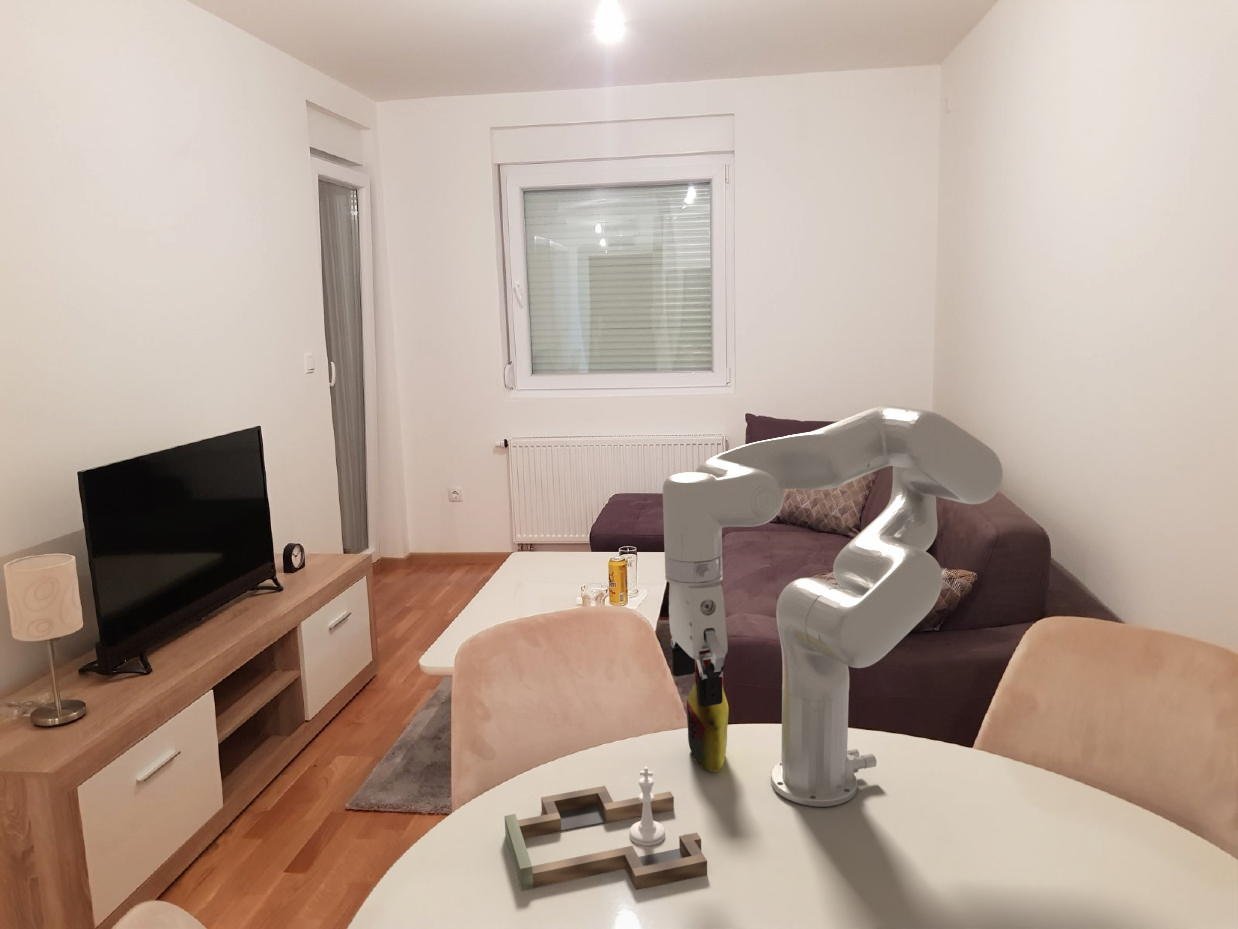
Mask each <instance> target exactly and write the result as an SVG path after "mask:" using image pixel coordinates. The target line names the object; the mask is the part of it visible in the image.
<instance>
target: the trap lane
mask: <svg viewBox="0 0 1238 929" xmlns="http://www.w3.org/2000/svg"><path fill="white" fill-rule="evenodd" d="M653 795H654V800H653V801H652V802H650V804H651V811H652V815H653V814H654V815H655V814H659V813H664V812H669V811H674V810H675V801H674V800H675V797H674V795H673V794H672V792H671V791H666V792H661V793H654V794H653ZM540 801H541V812H542V815H538V816H533V817H526V818H522V819H518V818H517V815H516V814H515V813H513V814H507V815H504V828H505V829H504V832H505V839H506V842H507V845H508V849H509V853H510V857H511V860H512V862H513V866H514V867H513V868H514V870H515V873H516V876H517V879H518V880H517V881H518V883H519V886H520V891H526V890H531V889H536V888H540V887H545V886H550V885H554V884H559V883H564V882H569V881H573V880H578V879H582V878H588V877H592V876H596V875H601V874H605V873H606V874H607V873H610V872H611V873H612V872H616V871H620V870H625V871H626V873H627V876H628V878H629V879H630V882H631V883H632V884H631V885H632V886H633V888H634V889H635V891H640V890H645V889H648V888H654V887H659V886H662V885H668V884H672V883H676V882H680V881H681V882H682V881H685V880H691V879H695V878H700V877H705V876H707V875H708V860H707V858H706V857H705V855H704V854H703V852H702V838H701V836H700V835H699V833H698V832H693V833H688V834H683V835H679V837H678V840H679V841H678V842H679V843H678V844H679V847H678V848H675V849H670V850H665V851H659V852H655V853H650V854H647V855H640V856H639V855H638V854H637V851H636V850H635V848H634V846H633V845H630V846H629V845H628V846H624V847H619V848H614V849H609V850H604V851H599V852H595V853H591V854H586V855H585V854H584V855H580V856H575V857H570V858H565V859H561V860H556V861H550V862H545V863H542V864H541V863H540V864H536V865H535V864H534V865H532V861H531V859H530V855H529V851H528V848H527V845H526V842H525V840H526V839H529V838H535V837H540V836H546V835H551V834H555V833H562V832H565V831H571V830H576V829H581V828H582V829H583V828H587V827H592V826H597V825H602V824H608V823H612V822H619V821H623V820H627V819H631V818H633V819H634V818H638V817H642V809H643V802H641V801H640V800H639V796H638V797H633V798H628V799H623V800H622V799H621V800H618V801H617V800H616V801H614V800H613V798H612V796H611V795H610V792H609V791H608V789H607V787H606V785H602V786H597V787H592V788H585V789H579V790H575V791H573V790H572V791H569V792H564V793H558V794H552V795H547V796H542V797H541V798H540ZM524 839H525V840H524Z"/></svg>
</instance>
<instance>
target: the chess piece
mask: <svg viewBox="0 0 1238 929" xmlns="http://www.w3.org/2000/svg"><path fill="white" fill-rule="evenodd" d="M639 776H644V777H641V778H639V780H638V785H639V786H640V789H641V793H639V795H638V797H639V800H640V801H641V802H643V809H642V816H641V819H640V821H636V822H635V823H633V824H631V827H630V829H629V834H628V836H629V839H630V840H631V841H632V843H633V842H634V844H637V845H639V846H643V847H644V846H646V847H647V846H648V847H649V846H655V845H658V844H660V843H661V842H663V841H664V840H665V838H666V832H665V827H664V826H663V824H661V823H660V822H658V821H655V820H654V819H653V818H654V817H653V814H652V811H651V804H650V802H652V801H653V800H654V794H653V793H652V790H653V789H652V788H653V787H654V783H655V781H654V779H653V778H652V777H653V771H649V767H648V766H644V768H643V770H639Z"/></svg>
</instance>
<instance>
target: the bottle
mask: <svg viewBox="0 0 1238 929" xmlns="http://www.w3.org/2000/svg"><path fill="white" fill-rule="evenodd" d="M708 652H710V651H709V650H704V651H700V654H702V653H708ZM703 661H704V665H705V668H706V667H707V665H708V664H709V663H711V659H707V660H703ZM694 674H695V677H694V684H693V685H692V688H691V690H690V691H689V693H688V696H687V698H686V722H687V740H688V746H689V750H690V752H691V754H692V757H693V759H694V761H695V762H696V763H697V765H698V766H700V767H701V768H702V769H703V770H706V771H708V772H719V771H721V769H722V768H723V765H724V763H725V759H726V752H727V744H728V742H727V741H728V726H729V724H728V722H729V704H728V700H727V696H726V693H725V691H724V690H725V689H724V675H723V676H722V703H721V704H716V705H711V706H705V707H700V706H699V704H698V682H697V677H700V673H699V669H698V665H697V661H696V660H695V673H694Z"/></svg>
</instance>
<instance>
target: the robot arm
mask: <svg viewBox="0 0 1238 929" xmlns="http://www.w3.org/2000/svg"><path fill="white" fill-rule="evenodd" d="M886 467H892V488H891V494H890V498H889V501H888V503H887V505H886V507H885V508H884V510H882V512H880V513H879V515H877V517H876V518H875V519H873V520H872V521H871V523H869V524H868V525H867V526H866V527H865V528H864V529H862V530H861V531H860V532H859V533H858V534H857V535H856V536H855V537H854V538H852V539H851V540H850V541H849V542H848V543H847V544H846V545H845V546H844V547H843V548H842V549H841V550H840V552H839V553H838V555H837V556H836V558H835V560H834V562H833V567H832V572H833V576H834V578H835V580H836V582H837V583H838V585H836V584H835V583H831V582H829V581H827V580H824V579H820V578H816V577H800V578H797V579H795V580H793V581H791V582H789V583H788V584H787V585H785V587H784V588H783V590H782V591H781V593H780V595H779V597H778V599H777V604H776V613H775V614H776V624H777V630H778V636H779V642H780V647H781V658H782V659H781V660H782V683H781V684H782V685H781V690H782V692H781V695H782V697H781V761H779V762H778V763H777V764H775V765H774V767H772V769H771V771H770V772H771V773H770V784H771V786H772V788H773V789H774V791H775V792H776V793H778V794H779V796H781V797H782V798H784V799H787V800H788V801H790V802H793V803H796V804H800V805H803V806H808V807H818V808H819V807H820V808H821V807H824V808H826V807H834V806H839V805H841V804H844V803H847V802H848V801H850V800H852V798H853V797H854V796H855V795H856V794H857V790H858V779H857V777H856V774H855V773H858V772H859V771H860V770H861V769H862V770H863V769H865V770H866V769H870V768H871V769H872V768H875V767H877V763H878V762H877V759H876V756H875V755H874V753H868V754H862V755H860V753H859V750H858V749H857V748H855V749H854V748H853V749H849V750H848V739H849V738H848V737H849V736H848V735H849V734H848V733H849V731H848V730H849V693H850V692H849V691H850V671H849V670H850V669H849V667H850V668H856V669H861V668H862V669H863V668H867V667H870V666H872V665H874V664H876V663H877V662H879V661H880V660H881V659H883V658H884V657H885V656H886V655H887V654H889V652H890V651H891V650H893V649H894V648H895V646H897V645H898V644H899V643H900V642H901V640H903V639H904V638H905V637H906V636H907V635H908V634H909V633H910V632H911V631H912V630H913V629H914V628H915V627H916V626H917V625H918V624H919V623H920V622H921V621H922V620H923V619H924V618H925V617H926V616H927V615H928V614H929V612H930V611H931V610H932V609H933V607H934V606H935V604H936V603H937V601H938V599H939V596H940V594H941V591H942V588H943V579H944V578H943V572H942V568H941V565H940V564H939V562H938V561H937V559H936V558H935V557H934V556H933V555H931V554H930V553H929V552H927V550H928V549H929V548H930V547H931V546H932V545H933V543H934V541H935V539H936V538H937V534H938V528H939V527H938V515H937V514H938V513H937V498H940V499H945V500H949V501H953V502H957V503H958V502H959V503H961V504H968V505H979V504H983V503H987V502H988V501H990V500H991V499H992V498H993V497H995V495H996V494H997V493H998V491H999V490H1000V487H1001V485H1002V482H1003V477H1004V475H1003V473H1004V472H1003V465H1002V463H1001V460H1000V458H999V457H998V455H997V453H996V452H995V451H994V450H993V449H992V448H991V447H989V446H988V445H987V444H986V443H984V442H982V441H981V440H979V439H978V438H976V437H975V436H974V435H972V434H970V433H969V432H967V431H966V430H964V429H963V428H962V427H961V426H959V425H958V424H956V423H954V422H953V421H952V420H950V419H948V418H947V417H945V416H943V415H941V414H940V413H936V412H934V411H931V410H925V409H918V408H911V407H905V406H904V407H903V406H896V405H895V406H894V405H881V406H876V407H875V406H874V407H873V408H871V409H867V410H865V411H862V412H859V413H857V414H854V415H851V416H850V417H847V418H844V419H842V420H839V421H837V422H833V423H831V424H828V425H827V426H823V427H821V428H817V429H815V430H812V431H808V432H802V433H801V432H800V433H797V434H792V435H791V434H790V435H786V436H782V437H776V438H771V439H766V440H761V441H756V442H751V443H748V444H744V445H741V446H738V447H735V448H732V449H730V450H727V451H725V452H721V453H719V454H717V455H714V456H712V457H710V458H708V459H706V460H705V461H704V462H702V463H701V464H700V465H699V466H698V467H697V469H696V470H695V471H691V472H690V471H688V472H680V473H679V472H678V473H675V474H672V475H669V476H668V477H667V478H666V479H665V481H664V482H663V485H662V509H663V510H662V511H663V512H662V514H663V545H664V575H665V576H664V577H665V580H666V582H667V583H669V587H668V588H669V589H668V622H669V631H670V636H671V639H670V645H671V647H672V648H671V660H672V661H671V664H672V665H671V666H672V675H673V676H674V677H683V676H688V675H689V676H690V675H693V674H695V664H696V661H697V665H698V669H699V673H700V677H697V682H698V704H699V706H700V707H705V706H711V705H716V704H721V703H722V676H723V677H724V668H725V665H724V664H725V663H724V662H725V659H726V655H727V653H728V634H727V633H728V632H727V631H728V630H727V619H726V618H727V617H726V616H727V615H726V608H725V599H724V594H723V587H722V583H721V581H722V580H723V578H724V576H723V575H724V574H723V569H724V568H723V528H729V527H730V528H732V527H734V528H737V527H739V528H740V527H743V528H745V527H747V528H748V527H750V528H751V527H758V526H762V525H764V524H767V523H769V522H771V521H772V520H773V519H774V518H775V517H776V516H777V515H778V514H779V513H780V512H781V510H782V508H783V504H784V498H785V497H784V490H801V491H804V490H805V491H818V490H819V491H821V490H832V489H836V488H840V487H842V486H844V485H845V484H848V483H851V482H853V481H855V480H856V479H859V478H862V477H864V476H867V475H869V474H872V473H874V472H876V471H880V470H881V469H883V468H886ZM704 650H709V651H710V652H708V653H702V654H700V651H704ZM707 659H711V663H709V664H708V665H707V667H706V668H705V665H704V661H703V660H707Z"/></svg>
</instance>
